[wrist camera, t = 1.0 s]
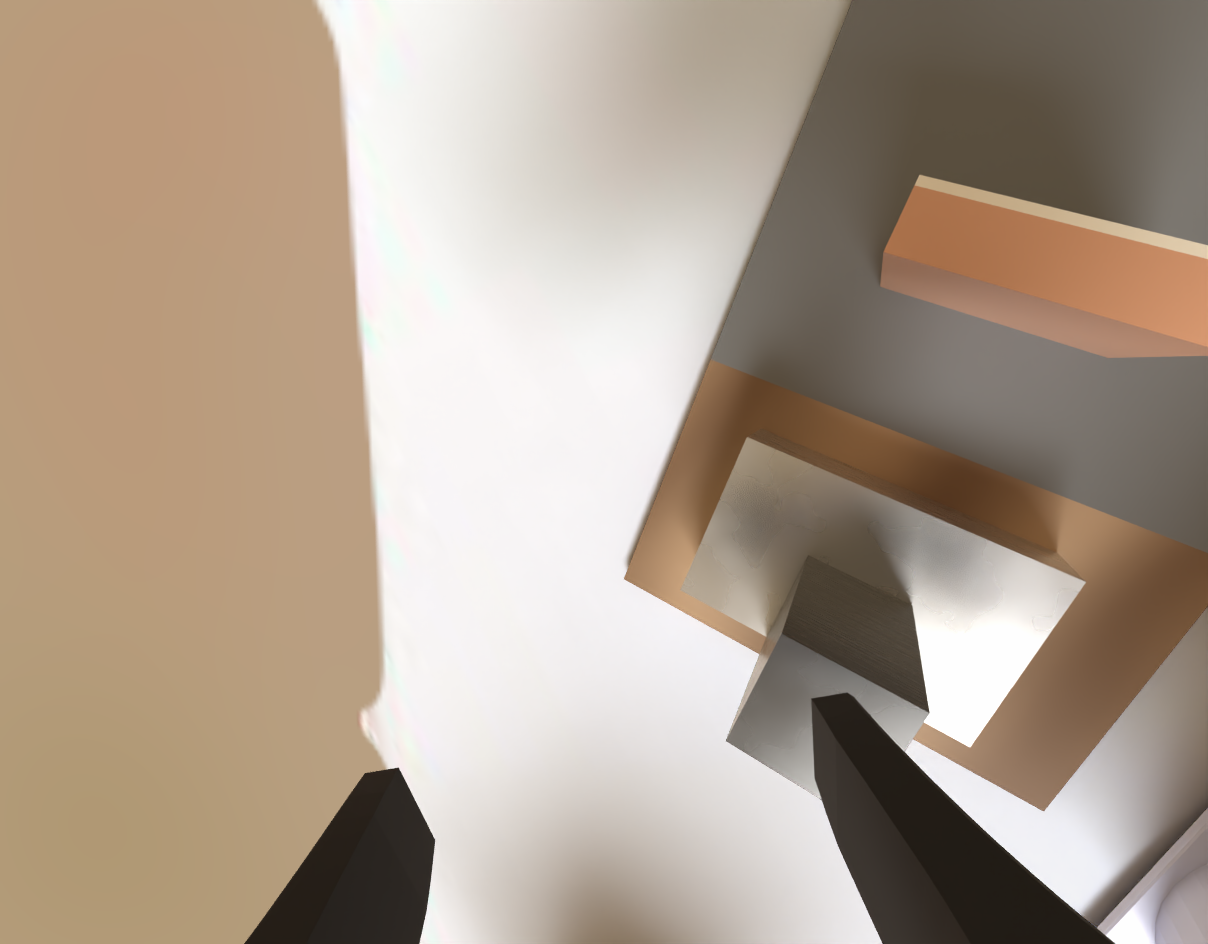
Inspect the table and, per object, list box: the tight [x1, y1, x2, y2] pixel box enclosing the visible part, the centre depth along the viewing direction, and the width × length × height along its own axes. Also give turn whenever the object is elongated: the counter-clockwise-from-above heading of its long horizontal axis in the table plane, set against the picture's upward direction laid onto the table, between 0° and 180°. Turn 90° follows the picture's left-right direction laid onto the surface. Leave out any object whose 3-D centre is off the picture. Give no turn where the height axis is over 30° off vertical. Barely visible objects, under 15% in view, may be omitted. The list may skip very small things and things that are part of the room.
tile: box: [880, 175, 1208, 358], centre depth 13 cm, size 6×2×6 cm, turn 70°
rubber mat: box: [711, 0, 1208, 553], centre depth 15 cm, size 15×13×1 cm
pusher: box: [680, 428, 1086, 800], centre depth 15 cm, size 9×6×8 cm, turn 70°
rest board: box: [624, 360, 1208, 811], centre depth 19 cm, size 15×9×1 cm, turn 70°
